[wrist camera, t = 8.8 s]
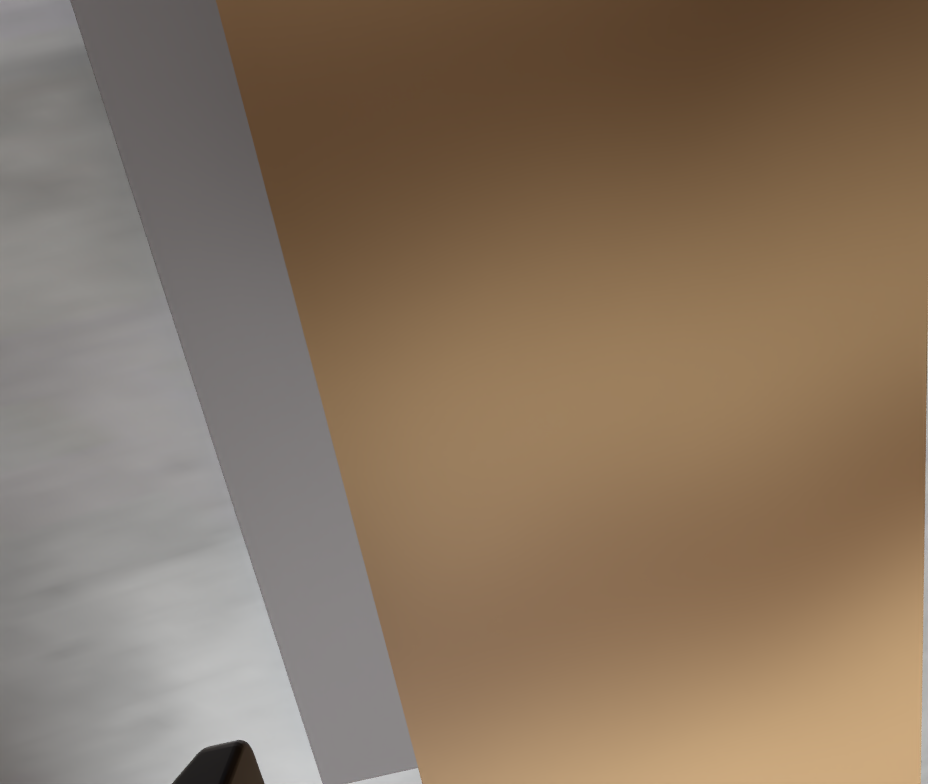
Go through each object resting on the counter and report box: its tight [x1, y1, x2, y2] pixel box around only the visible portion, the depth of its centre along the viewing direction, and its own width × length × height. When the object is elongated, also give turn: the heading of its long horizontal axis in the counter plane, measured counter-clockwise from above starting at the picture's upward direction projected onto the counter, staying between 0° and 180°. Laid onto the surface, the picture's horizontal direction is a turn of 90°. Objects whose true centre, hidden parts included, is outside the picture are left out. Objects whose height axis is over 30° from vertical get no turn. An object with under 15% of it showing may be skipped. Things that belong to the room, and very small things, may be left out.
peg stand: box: [70, 0, 418, 784], centre depth 16 cm, size 20×14×5 cm
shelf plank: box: [216, 0, 928, 784], centre depth 11 cm, size 16×6×5 cm, turn 10°
